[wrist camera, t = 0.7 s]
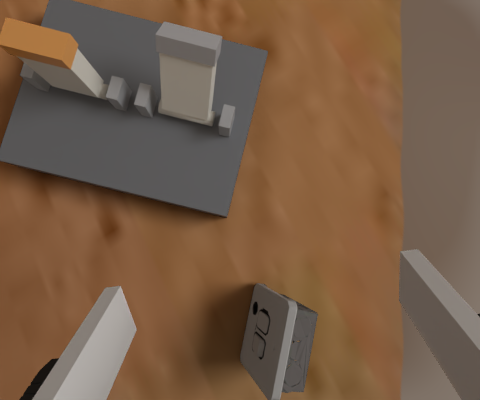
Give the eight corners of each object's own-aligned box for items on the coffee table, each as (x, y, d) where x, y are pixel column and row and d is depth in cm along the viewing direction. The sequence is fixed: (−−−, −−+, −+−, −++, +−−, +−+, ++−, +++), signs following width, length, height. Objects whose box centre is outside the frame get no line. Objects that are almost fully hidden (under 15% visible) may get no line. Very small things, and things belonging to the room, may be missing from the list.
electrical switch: (254, 280, 40) (272, 298, 30) (294, 288, 40) (324, 308, 31) (238, 359, 39) (252, 401, 29) (280, 366, 39) (305, 410, 30)
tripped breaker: (106, 105, 36) (65, 61, 27) (54, 92, 36) (-7, 42, 27) (112, 85, 37) (73, 34, 27) (60, 72, 36) (2, 16, 27)
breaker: (210, 131, 36) (219, 50, 28) (157, 118, 36) (151, 33, 28) (215, 117, 37) (225, 37, 30) (164, 104, 37) (160, 20, 29)
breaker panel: (226, 217, 40) (227, 215, 33) (19, 166, 40) (-27, 152, 32) (264, 68, 42) (271, 34, 35) (67, 17, 42) (34, -27, 34)
